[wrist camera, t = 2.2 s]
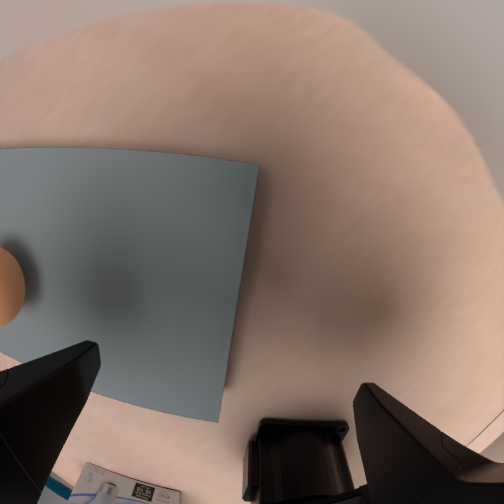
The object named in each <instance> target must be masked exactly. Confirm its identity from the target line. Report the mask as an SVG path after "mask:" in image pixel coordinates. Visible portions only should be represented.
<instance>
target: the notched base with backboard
mask: <svg viewBox="0 0 504 504" xmlns="http://www.w3.org/2000/svg"><path fill="white" fill-rule="evenodd" d="M259 166H260V165H258V164H251V163H245V162H238V161H232V160H224V159H217V158H209V157H201V156H193V155H184V154H174V153H164V152H152V151H139V150H124V149H105V148H66V147H50V148H13V149H0V247H1V248H4V249H5V250H7V251H8V252H10V253H11V254H12V255H13V256H14V257H15V259H16V260H17V261H18V263H19V265H20V267H21V269H22V272H23V275H24V279H25V298H24V302H23V305H22V308H21V310H20V312H19V313H18V315H17V316H16V317H15V318H14V319H13V320H12V321H11V322H9V323H8V324H6V325H4V326H1V327H0V352H2V353H3V354H5V355H7V356H9V357H11V358H13V359H15V360H17V361H19V362H21V363H26V362H29V361H31V360H34V359H37V358H40V357H42V356H45V355H48V354H51V353H53V352H56V351H59V350H62V349H64V348H67V347H70V346H72V345H75V344H78V343H80V342H83V341H85V340H90V341H93V342H96V343H98V345H99V350H100V358H101V367H100V370H99V372H98V375H97V377H96V379H95V382H94V384H93V387H92V389H91V392H93V393H96V394H99V395H102V396H105V397H109V398H112V399H115V400H118V401H122V402H125V403H129V404H132V405H136V406H140V407H143V408H147V409H151V410H155V411H160V412H164V413H168V414H173V415H178V416H183V417H188V418H193V419H199V420H205V421H211V422H217V423H218V422H219V416H220V409H221V402H222V396H223V389H224V383H225V377H226V370H227V364H228V357H229V351H230V345H231V338H232V332H233V326H234V319H235V313H236V307H237V301H238V294H239V288H240V282H241V276H242V269H243V263H244V257H245V251H246V245H247V239H248V233H249V227H250V220H251V214H252V208H253V202H254V196H255V190H256V184H257V178H258V172H259Z"/></svg>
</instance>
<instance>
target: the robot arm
mask: <svg viewBox="0 0 504 504" xmlns="http://www.w3.org/2000/svg"><path fill="white" fill-rule="evenodd" d="M100 367H101V358H100V350H99V345H98V343H96V342H93V341H90V340H85V341H83V342H80V343H78V344H75V345H72V346H70V347H67V348H64V349H62V350H59V351H56V352H53V353H51V354H48V355H45V356H42V357H40V358H37V359H34V360H31V361H29V362H26V363H23V364H20V365H18V366H15V367H12V368H10V369H6V370H3V371H1V372H0V504H37V503H38V500H39V498H40V496H41V492H42V491H43V488H44V486H45V484H46V482H47V479H48V477H49V475H50V473H51V471H52V469H53V466H54V464H55V462H56V460H57V458H58V456H59V454H60V452H61V450H62V448H63V446H64V444H65V442H66V440H67V438H68V436H69V434H70V432H71V430H72V428H73V426H74V424H75V422H76V420H77V419H78V417H79V415H80V413H81V411H82V409H83V407H84V405H85V403H86V401H87V399H88V397H89V394H90V392H91V389H92V387H93V384H94V382H95V379H96V377H97V375H98V372H99V370H100ZM353 409H354V417H355V425H356V433H357V440H358V445H359V449H360V454H361V458H362V462H363V467H364V471H365V476H366V480H367V484H366V485H362V486H359V488H357V489H355V488H354V484H353V480H352V476H351V473H350V469H349V466H348V462H347V458H346V455H345V451H344V448H343V444H342V441H343V439H344V437H345V436H346V434H347V432H348V430H349V425H348V423H347V422H310V421H286V420H271V419H264V420H262V421H260V422H259V425H258V428H257V432H256V435H255V438H254V440H251V441H249V442H248V445H247V448H246V452H245V455H244V459H243V491H242V499H243V500H244V501H248V502H251V504H504V463H497V462H494V461H492V460H489V459H488V458H486V457H484V456H482V455H480V454H478V453H476V452H474V451H473V450H471V449H469V448H467V447H465V446H464V445H462V444H460V443H459V442H457V441H455V440H454V439H452V438H451V437H449V436H448V435H446V434H445V433H443V432H441V431H440V430H439V429H438V428H436V427H435V426H433V425H432V424H430V423H429V422H428V421H426V420H425V419H423V418H422V417H420V416H419V415H418V414H416V413H415V412H413V411H412V410H411V409H409V408H408V407H406V406H405V405H404V404H402V403H401V402H399V401H398V400H397V399H395V398H394V397H392V396H391V395H390V394H388V393H387V392H386V391H384V390H383V389H381V388H380V387H379V386H377V385H376V384H375V383H362V384H361V386H360V388H359V390H358V392H357V394H356V396H355V398H354V401H353Z"/></svg>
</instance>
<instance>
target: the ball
mask: <svg viewBox="0 0 504 504" xmlns="http://www.w3.org/2000/svg"><path fill="white" fill-rule="evenodd" d="M24 298H25V279H24V275H23V272H22V269H21V267H20V265H19V263H18V261H17V260H16V259H15V257H14V256H13V255H12V254H11V253H10V252H8V251H7V250H5V249H4V248H1V247H0V327H1V326H4V325H6V324H8V323H9V322H11V321H12V320H13V319H14V318H15V317H16V316H17V315H18V313H19V312H20V310H21V308H22V305H23V302H24Z"/></svg>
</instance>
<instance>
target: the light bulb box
mask: <svg viewBox="0 0 504 504" xmlns="http://www.w3.org/2000/svg"><path fill="white" fill-rule="evenodd" d="M67 504H180V492H179V491H174V490H170V489H166V488H162V487H158V486H154V485H151V484H147V483H144V482H140V481H137V480H134V479H131V478H128V477H125V476H122V475H119V474H116V473H113V472H111V471H108V470H105V469H103V468H100V467H98V466H95V465H93V464H90V463H88V462H87V463H86V465H85V467H84V469H83V471H82V473H81V475H80V477H79V479H78V481H77V483H76V485H75V487H74V489H73V491H72V493H71V496H70V498H69V500H68V502H67Z"/></svg>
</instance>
